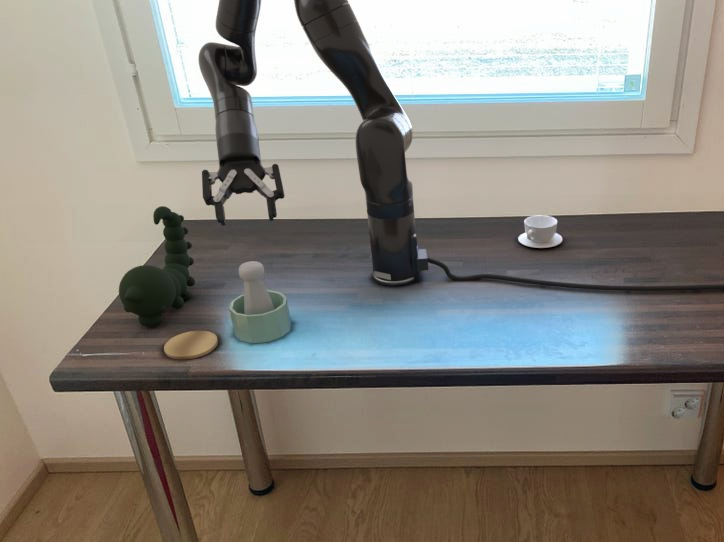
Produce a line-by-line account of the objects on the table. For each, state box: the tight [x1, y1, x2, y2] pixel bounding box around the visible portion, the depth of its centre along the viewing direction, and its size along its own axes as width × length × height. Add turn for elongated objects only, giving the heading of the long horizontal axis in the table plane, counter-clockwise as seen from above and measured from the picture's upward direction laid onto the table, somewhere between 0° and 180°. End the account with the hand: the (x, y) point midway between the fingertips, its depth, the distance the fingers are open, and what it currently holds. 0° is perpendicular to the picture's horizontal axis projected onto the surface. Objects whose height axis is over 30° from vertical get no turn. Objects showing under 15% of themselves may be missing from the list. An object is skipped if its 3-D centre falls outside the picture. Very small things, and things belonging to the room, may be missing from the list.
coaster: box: [163, 330, 219, 361], centre depth 131 cm, size 9×9×1 cm
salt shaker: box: [238, 260, 275, 315], centre depth 132 cm, size 6×6×13 cm
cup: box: [228, 289, 292, 344], centre depth 134 cm, size 10×10×6 cm
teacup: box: [517, 214, 563, 249], centre depth 166 cm, size 10×10×5 cm
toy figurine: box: [118, 205, 196, 328], centre depth 138 cm, size 9×19×25 cm
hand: (247, 221), depth 135 cm, fingers open, 8 cm apart
